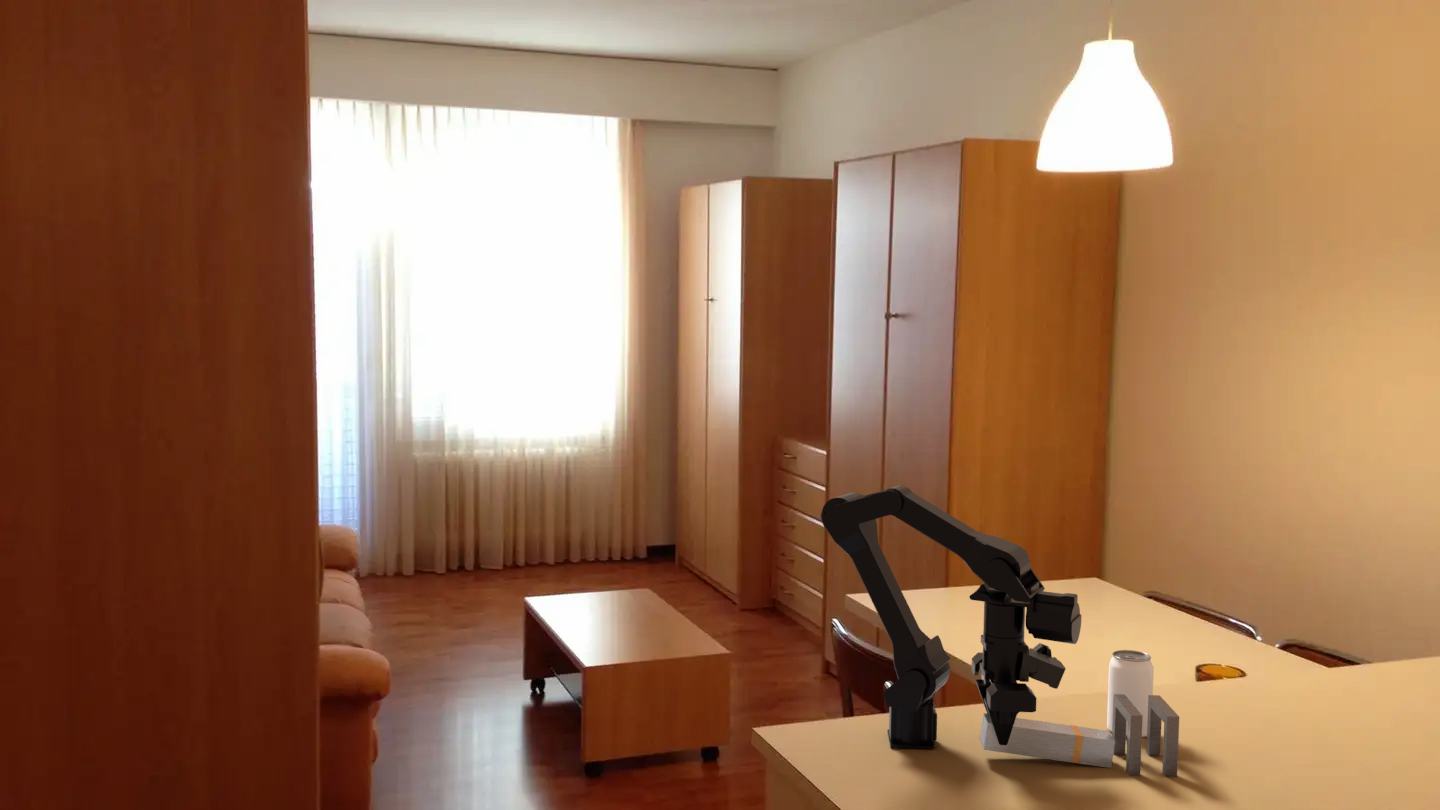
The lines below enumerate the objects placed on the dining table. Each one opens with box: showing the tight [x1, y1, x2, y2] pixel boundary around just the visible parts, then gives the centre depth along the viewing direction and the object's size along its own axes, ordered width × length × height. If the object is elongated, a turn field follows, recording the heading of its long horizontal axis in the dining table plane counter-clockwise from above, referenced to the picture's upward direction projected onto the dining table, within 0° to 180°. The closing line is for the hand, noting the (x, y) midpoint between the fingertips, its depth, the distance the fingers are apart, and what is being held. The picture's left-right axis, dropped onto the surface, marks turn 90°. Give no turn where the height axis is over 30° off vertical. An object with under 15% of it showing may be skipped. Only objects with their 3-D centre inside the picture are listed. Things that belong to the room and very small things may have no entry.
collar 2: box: [1145, 694, 1180, 778], centre depth 169 cm, size 2×9×9 cm, turn 176°
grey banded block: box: [978, 712, 1115, 769], centre depth 170 cm, size 18×4×4 cm, turn 86°
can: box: [1106, 649, 1155, 739], centre depth 182 cm, size 6×6×12 cm
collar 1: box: [1111, 694, 1143, 777], centre depth 169 cm, size 2×9×9 cm, turn 176°
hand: (1000, 739), depth 171 cm, fingers closed on grey banded block, 4 cm apart
